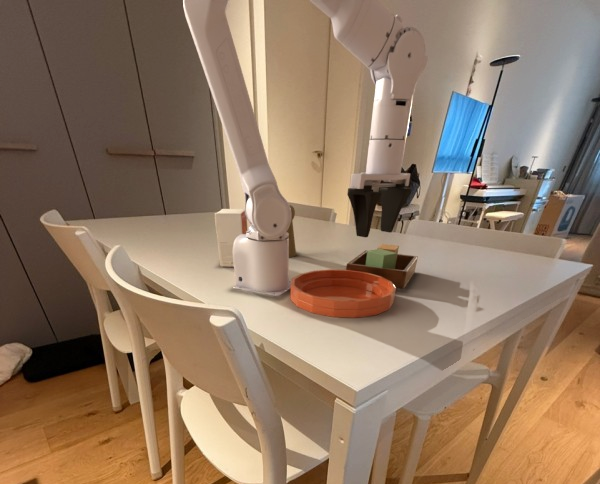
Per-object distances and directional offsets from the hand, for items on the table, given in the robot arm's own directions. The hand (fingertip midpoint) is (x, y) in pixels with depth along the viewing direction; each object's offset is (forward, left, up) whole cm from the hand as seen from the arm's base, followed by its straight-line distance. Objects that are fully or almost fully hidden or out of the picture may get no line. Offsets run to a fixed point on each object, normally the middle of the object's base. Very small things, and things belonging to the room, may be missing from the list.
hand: (374, 234), depth 61 cm
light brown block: (+2, +7, -8) cm, 11 cm away
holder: (+2, +5, -9) cm, 10 cm away
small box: (-31, +1, -9) cm, 33 cm away
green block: (+2, +2, -8) cm, 9 cm away
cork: (-25, +14, -9) cm, 30 cm away
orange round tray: (-1, -12, -9) cm, 15 cm away
